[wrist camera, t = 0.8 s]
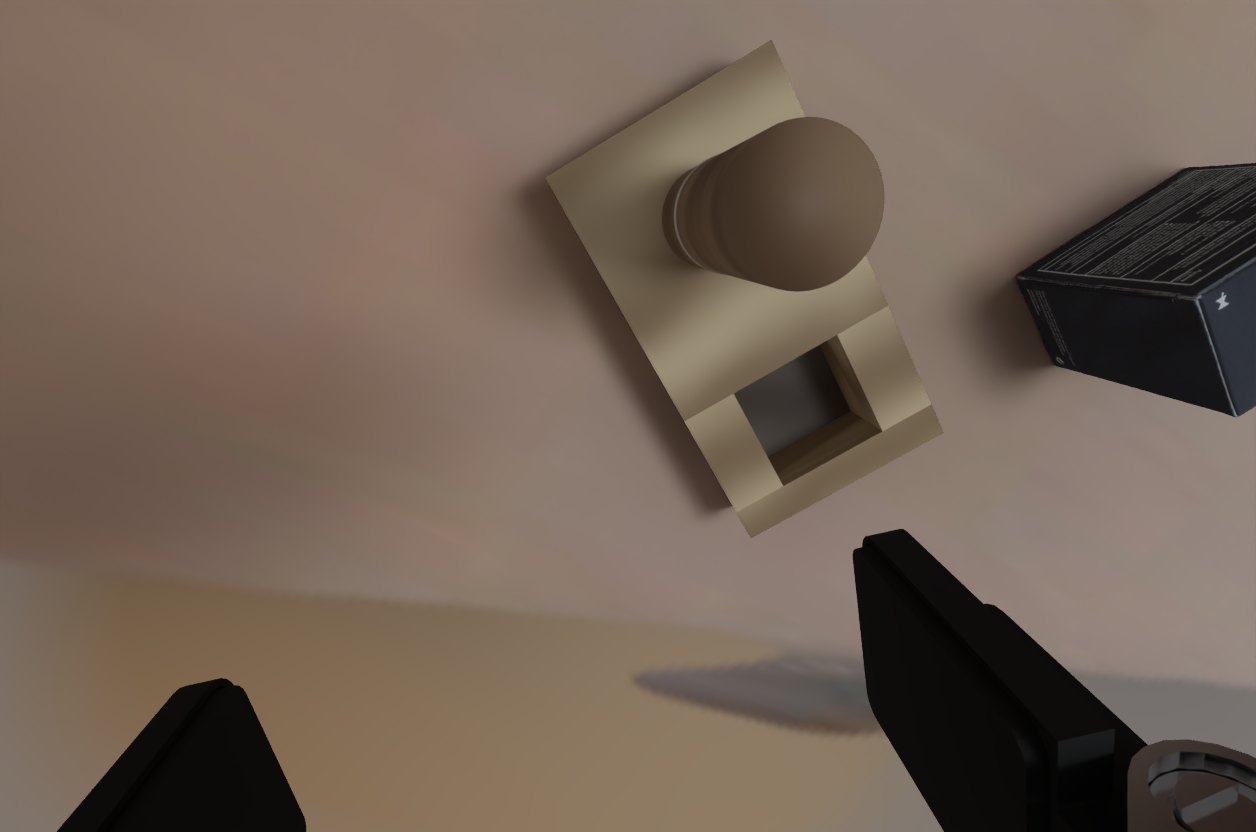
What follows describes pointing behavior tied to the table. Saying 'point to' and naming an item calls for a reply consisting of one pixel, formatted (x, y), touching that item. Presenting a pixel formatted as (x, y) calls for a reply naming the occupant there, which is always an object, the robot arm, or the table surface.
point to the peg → (780, 207)
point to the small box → (1161, 292)
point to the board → (745, 314)
